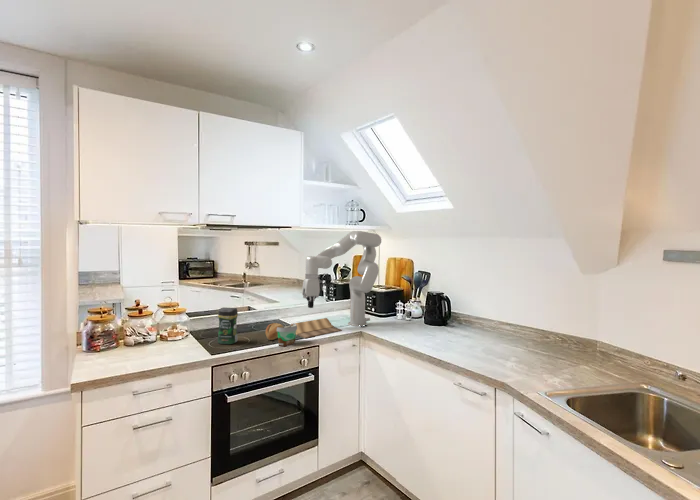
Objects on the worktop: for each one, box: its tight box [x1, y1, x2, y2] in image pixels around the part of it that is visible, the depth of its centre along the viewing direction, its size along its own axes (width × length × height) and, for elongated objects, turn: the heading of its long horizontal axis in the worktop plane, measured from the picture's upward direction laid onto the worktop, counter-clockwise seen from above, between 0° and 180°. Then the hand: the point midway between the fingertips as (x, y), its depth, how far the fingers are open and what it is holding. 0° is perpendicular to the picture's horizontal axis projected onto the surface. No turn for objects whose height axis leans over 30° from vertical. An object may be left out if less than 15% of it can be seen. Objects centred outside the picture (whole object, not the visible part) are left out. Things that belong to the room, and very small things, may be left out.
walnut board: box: [297, 326, 343, 339], centre depth 208 cm, size 26×8×2 cm, turn 131°
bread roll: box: [265, 322, 284, 341], centre depth 199 cm, size 10×15×8 cm, turn 171°
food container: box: [277, 322, 297, 348], centre depth 186 cm, size 12×6×10 cm, turn 143°
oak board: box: [290, 317, 334, 336], centre depth 213 cm, size 26×8×2 cm
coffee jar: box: [217, 307, 239, 345], centre depth 189 cm, size 10×8×19 cm
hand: (310, 307), depth 214 cm, fingers closed
